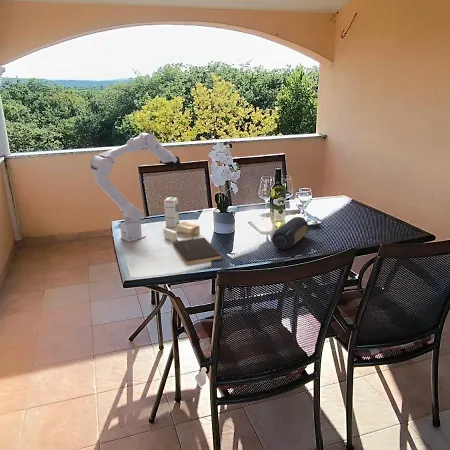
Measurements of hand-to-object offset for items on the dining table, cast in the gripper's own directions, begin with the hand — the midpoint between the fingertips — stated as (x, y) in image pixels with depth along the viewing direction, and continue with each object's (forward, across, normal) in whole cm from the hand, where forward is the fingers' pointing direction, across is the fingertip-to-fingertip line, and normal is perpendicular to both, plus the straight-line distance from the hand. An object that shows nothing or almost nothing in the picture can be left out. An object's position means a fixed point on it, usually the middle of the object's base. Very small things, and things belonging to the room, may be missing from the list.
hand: (177, 167), depth 216 cm
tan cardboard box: (+14, -15, +29) cm, 35 cm away
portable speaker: (+38, -56, +5) cm, 68 cm away
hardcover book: (+10, -36, +33) cm, 50 cm away
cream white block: (+10, -17, +32) cm, 37 cm away
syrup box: (+19, +2, +24) cm, 31 cm away
